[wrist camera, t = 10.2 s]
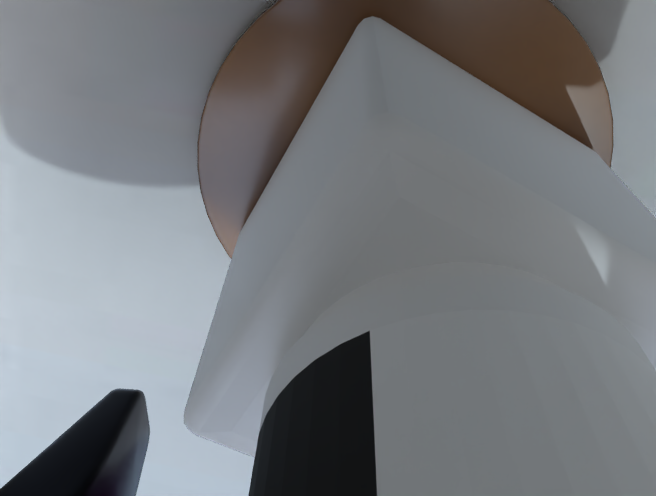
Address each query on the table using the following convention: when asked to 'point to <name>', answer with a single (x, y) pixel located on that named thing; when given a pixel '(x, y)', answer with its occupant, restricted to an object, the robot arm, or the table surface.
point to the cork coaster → (327, 46)
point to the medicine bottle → (435, 300)
